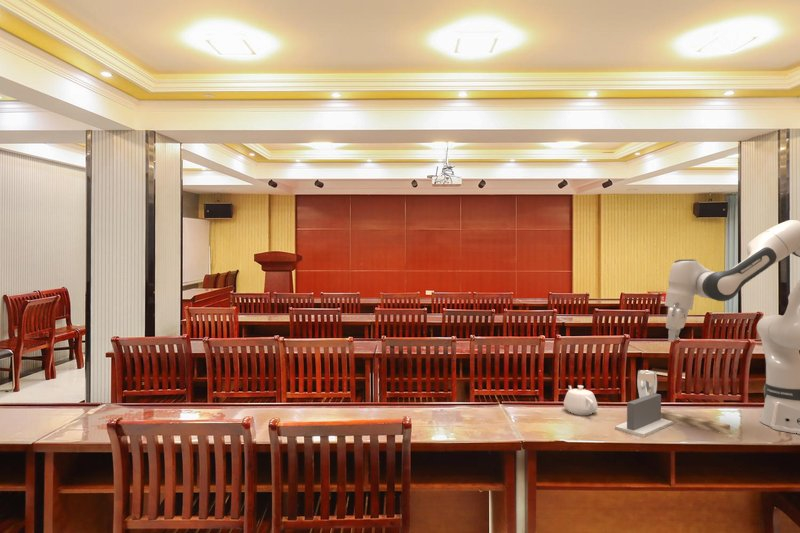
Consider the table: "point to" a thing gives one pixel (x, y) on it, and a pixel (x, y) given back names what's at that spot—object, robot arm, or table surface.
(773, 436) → the table surface
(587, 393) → the teapot
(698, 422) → the birch bar
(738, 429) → the table surface
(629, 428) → the stand
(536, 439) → the table surface
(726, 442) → the table surface
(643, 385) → the beer glass
